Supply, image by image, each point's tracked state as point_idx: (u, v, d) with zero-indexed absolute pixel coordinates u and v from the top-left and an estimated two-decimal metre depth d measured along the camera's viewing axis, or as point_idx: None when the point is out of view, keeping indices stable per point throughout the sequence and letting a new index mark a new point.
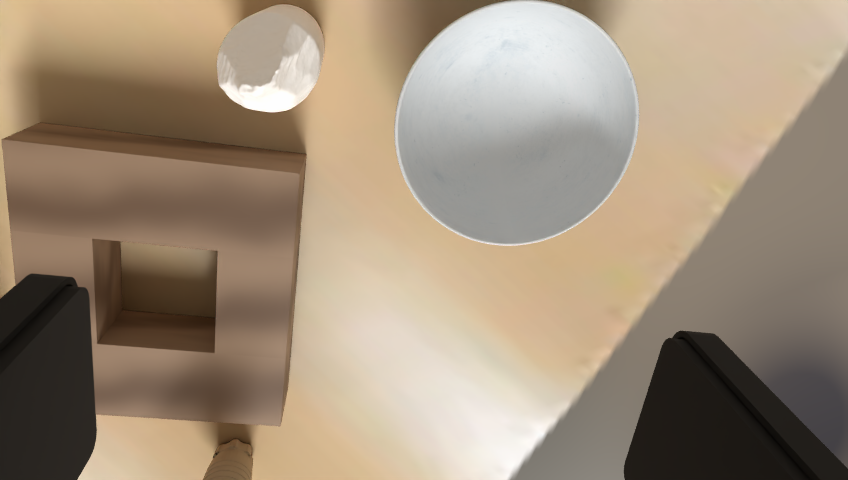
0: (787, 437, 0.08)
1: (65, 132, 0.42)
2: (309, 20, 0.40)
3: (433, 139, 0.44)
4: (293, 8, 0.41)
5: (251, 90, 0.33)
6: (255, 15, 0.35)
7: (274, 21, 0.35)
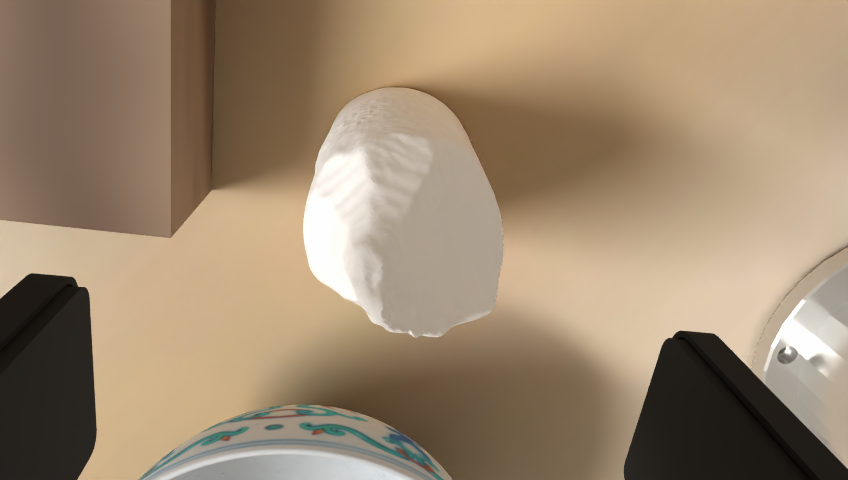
0: (787, 437, 0.08)
1: None
2: None
3: None
4: None
5: (368, 286, 0.14)
6: (497, 211, 0.18)
7: (490, 261, 0.17)
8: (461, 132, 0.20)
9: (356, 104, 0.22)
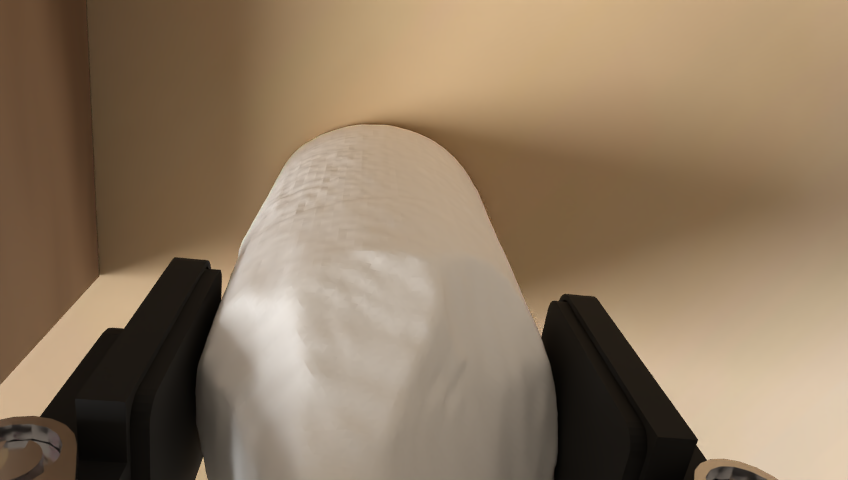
0: (628, 381, 0.09)
1: None
2: None
3: None
4: None
5: None
6: (547, 371, 0.10)
7: (538, 466, 0.10)
8: (475, 207, 0.13)
9: (308, 156, 0.14)
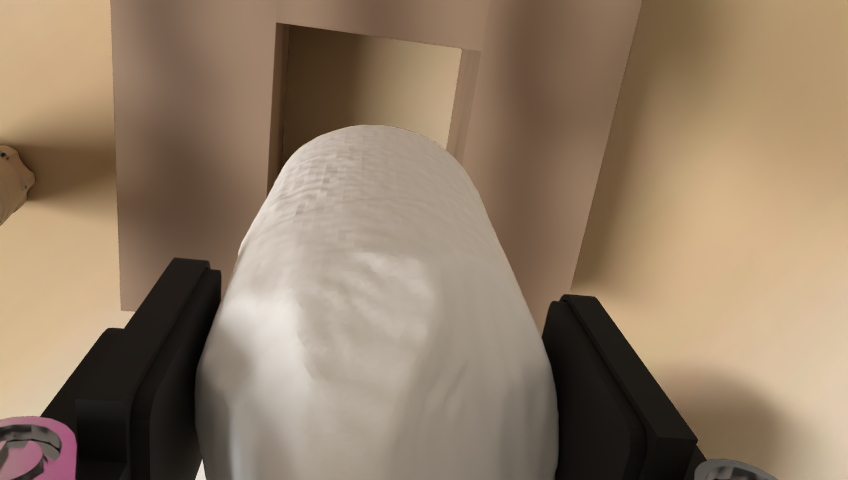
0: (628, 381, 0.09)
1: None
2: None
3: None
4: None
5: None
6: (548, 373, 0.10)
7: (539, 469, 0.10)
8: (475, 208, 0.13)
9: (307, 157, 0.14)
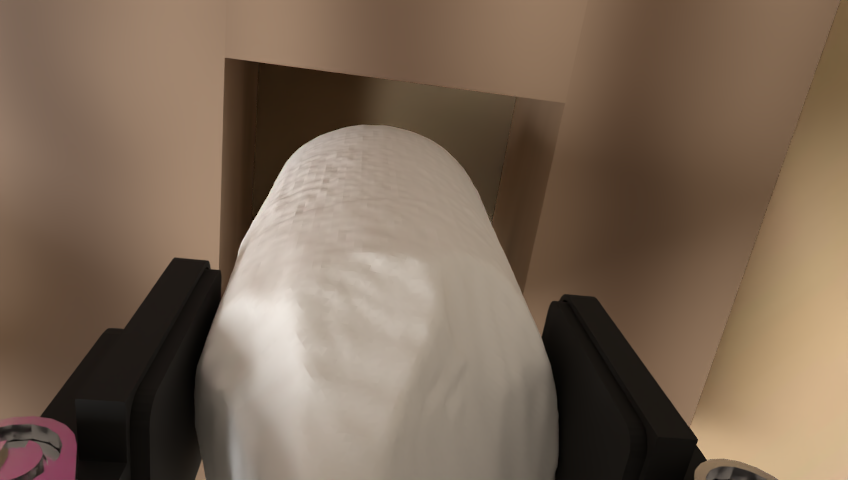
0: (628, 381, 0.09)
1: None
2: None
3: None
4: None
5: None
6: (548, 373, 0.10)
7: (539, 469, 0.10)
8: (475, 208, 0.13)
9: (307, 157, 0.14)
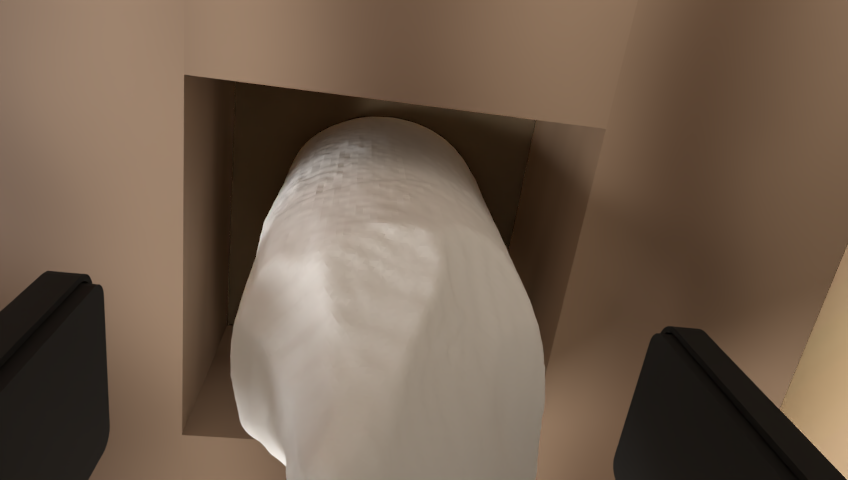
0: (769, 430, 0.08)
1: None
2: None
3: None
4: None
5: None
6: (536, 331, 0.11)
7: (528, 413, 0.11)
8: (473, 191, 0.14)
9: (321, 145, 0.15)
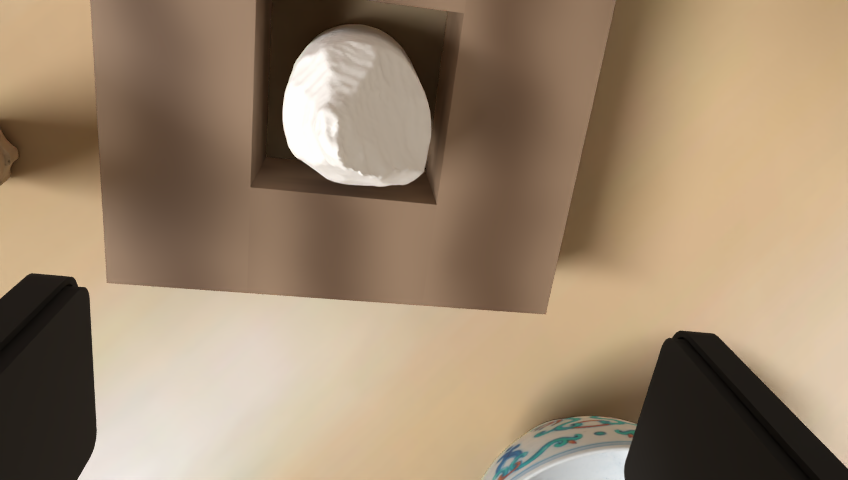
0: (787, 437, 0.08)
1: None
2: None
3: None
4: None
5: (329, 135, 0.20)
6: (425, 102, 0.24)
7: (421, 137, 0.24)
8: (402, 52, 0.27)
9: (321, 34, 0.28)
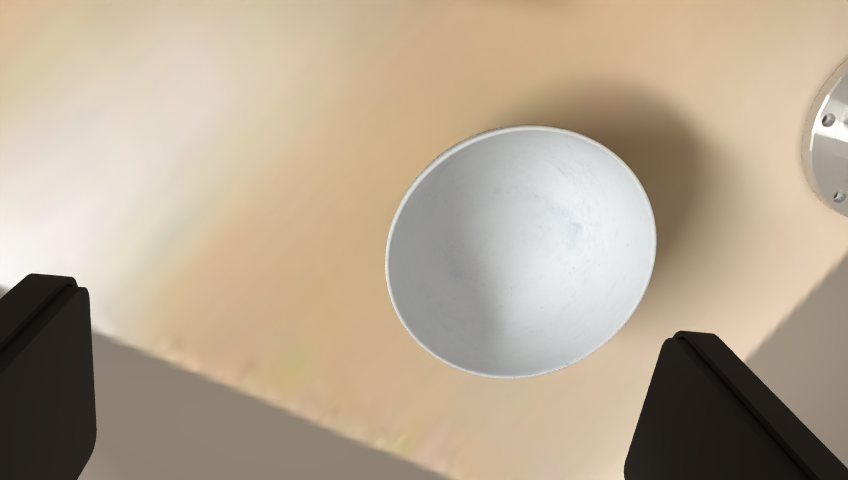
0: (787, 437, 0.08)
1: None
2: None
3: (481, 156, 0.38)
4: None
5: None
6: None
7: None
8: None
9: None
